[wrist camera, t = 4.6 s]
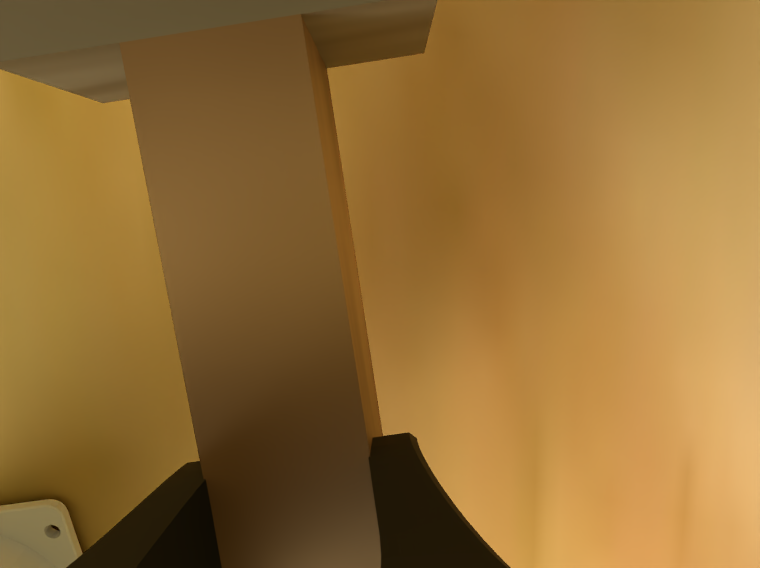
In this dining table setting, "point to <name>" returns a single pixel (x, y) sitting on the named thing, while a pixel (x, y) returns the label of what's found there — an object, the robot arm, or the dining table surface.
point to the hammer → (248, 240)
